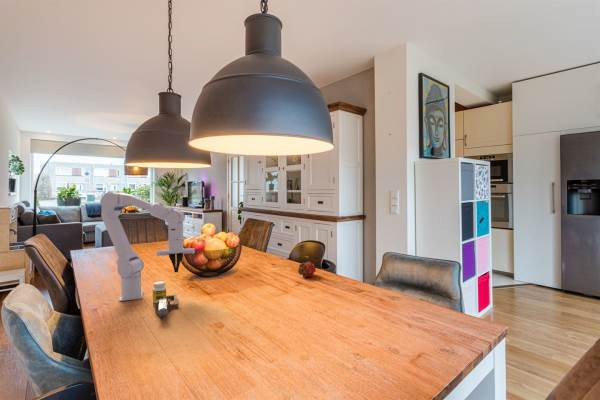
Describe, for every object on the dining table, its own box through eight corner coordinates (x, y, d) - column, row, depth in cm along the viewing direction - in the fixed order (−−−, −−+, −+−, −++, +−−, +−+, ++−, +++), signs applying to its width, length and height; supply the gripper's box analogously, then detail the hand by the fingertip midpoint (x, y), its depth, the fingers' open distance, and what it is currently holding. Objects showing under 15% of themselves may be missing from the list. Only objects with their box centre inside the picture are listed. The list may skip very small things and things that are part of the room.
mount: (156, 300, 121) (156, 290, 121) (176, 298, 124) (176, 288, 124) (155, 313, 108) (155, 302, 108) (177, 310, 111) (177, 299, 111)
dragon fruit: (300, 282, 151) (309, 280, 162) (314, 274, 149) (322, 272, 160) (292, 267, 154) (301, 266, 165) (305, 258, 152) (314, 258, 163)
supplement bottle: (155, 307, 114) (155, 285, 114) (151, 304, 118) (150, 282, 117) (168, 304, 118) (168, 282, 117) (163, 301, 121) (163, 280, 121)
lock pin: (158, 306, 111) (158, 297, 111) (167, 305, 113) (167, 296, 113) (157, 319, 100) (157, 309, 100) (168, 317, 101) (167, 308, 101)
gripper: (193, 236, 132) (193, 268, 133) (156, 239, 126) (157, 271, 127) (195, 239, 126) (195, 271, 126) (156, 241, 120) (156, 275, 120)
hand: (176, 271), depth 126 cm, fingers closed
